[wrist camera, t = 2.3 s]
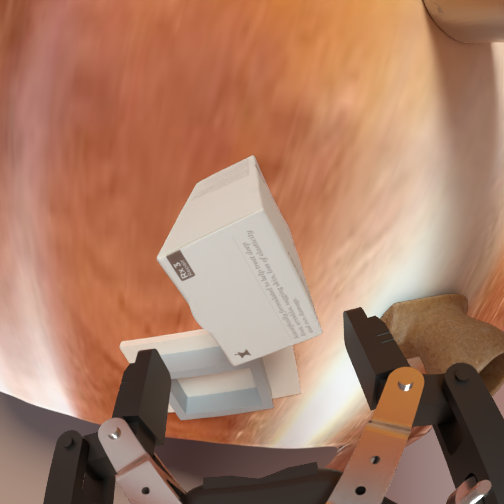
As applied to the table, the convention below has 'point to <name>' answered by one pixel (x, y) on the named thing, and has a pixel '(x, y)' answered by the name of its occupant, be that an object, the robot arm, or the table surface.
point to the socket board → (217, 375)
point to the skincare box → (240, 266)
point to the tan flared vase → (447, 336)
